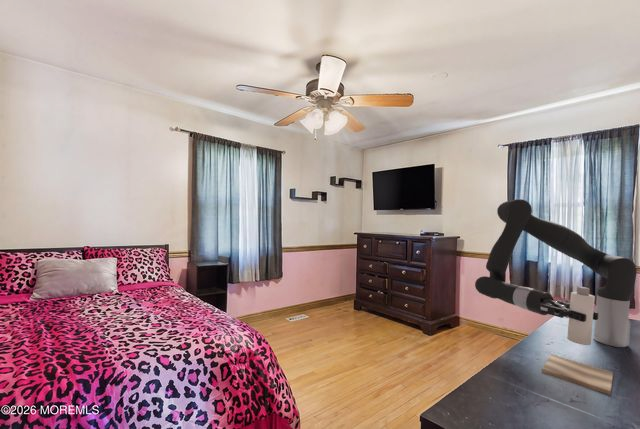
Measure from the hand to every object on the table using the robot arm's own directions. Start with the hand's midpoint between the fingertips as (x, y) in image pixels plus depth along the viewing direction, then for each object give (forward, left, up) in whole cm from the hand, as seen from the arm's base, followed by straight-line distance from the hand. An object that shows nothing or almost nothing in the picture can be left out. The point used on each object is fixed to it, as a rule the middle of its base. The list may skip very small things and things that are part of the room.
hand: (591, 317), depth 91 cm
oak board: (+1, -2, -18) cm, 18 cm away
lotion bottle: (+1, -2, -8) cm, 8 cm away
